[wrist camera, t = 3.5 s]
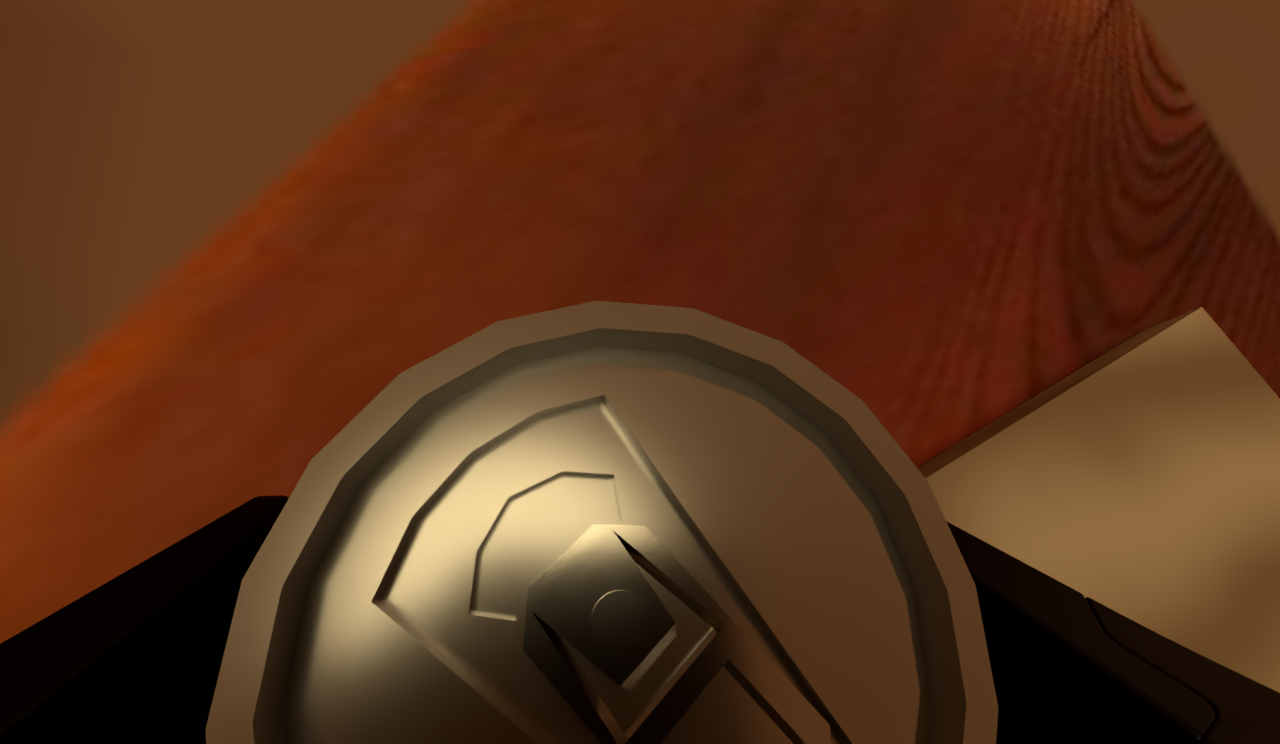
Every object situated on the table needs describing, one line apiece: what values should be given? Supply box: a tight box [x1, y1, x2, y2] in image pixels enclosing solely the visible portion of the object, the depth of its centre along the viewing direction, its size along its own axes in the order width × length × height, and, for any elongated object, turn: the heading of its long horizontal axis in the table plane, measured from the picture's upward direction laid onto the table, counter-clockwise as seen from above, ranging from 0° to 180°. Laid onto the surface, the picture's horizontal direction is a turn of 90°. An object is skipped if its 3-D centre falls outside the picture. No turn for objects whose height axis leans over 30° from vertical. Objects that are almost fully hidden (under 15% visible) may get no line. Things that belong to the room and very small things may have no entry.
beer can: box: [205, 301, 998, 744], centre depth 9 cm, size 5×5×12 cm
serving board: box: [917, 307, 1280, 693], centre depth 16 cm, size 16×16×2 cm
